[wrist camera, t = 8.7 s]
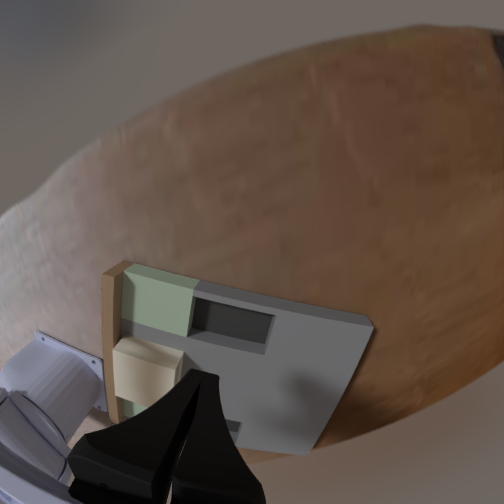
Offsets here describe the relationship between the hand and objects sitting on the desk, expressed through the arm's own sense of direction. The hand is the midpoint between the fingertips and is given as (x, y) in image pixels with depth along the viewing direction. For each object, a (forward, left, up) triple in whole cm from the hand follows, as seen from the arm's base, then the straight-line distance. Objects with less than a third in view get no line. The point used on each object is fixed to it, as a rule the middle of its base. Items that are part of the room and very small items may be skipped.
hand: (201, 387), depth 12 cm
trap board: (+1, -7, -10) cm, 13 cm away
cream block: (-5, -7, -8) cm, 12 cm away
